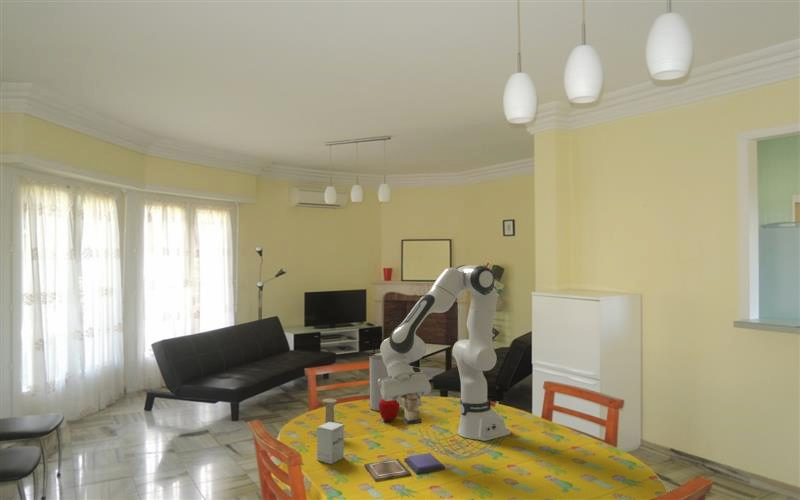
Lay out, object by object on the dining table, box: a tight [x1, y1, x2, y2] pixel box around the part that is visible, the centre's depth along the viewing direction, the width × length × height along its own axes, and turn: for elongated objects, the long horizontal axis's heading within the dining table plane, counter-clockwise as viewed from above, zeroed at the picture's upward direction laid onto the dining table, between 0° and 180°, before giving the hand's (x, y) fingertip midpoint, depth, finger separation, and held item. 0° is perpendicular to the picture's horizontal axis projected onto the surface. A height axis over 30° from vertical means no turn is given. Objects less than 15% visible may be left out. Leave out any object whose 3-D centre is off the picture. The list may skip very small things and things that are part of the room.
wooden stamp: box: [402, 394, 423, 426], centre depth 192 cm, size 6×6×10 cm
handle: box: [321, 398, 338, 424], centre depth 216 cm, size 5×6×15 cm
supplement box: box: [316, 422, 345, 465], centre depth 191 cm, size 7×7×13 cm
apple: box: [378, 398, 401, 422], centre depth 235 cm, size 10×10×11 cm
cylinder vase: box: [369, 354, 389, 412], centre depth 254 cm, size 12×12×25 cm
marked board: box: [364, 458, 412, 482], centre depth 181 cm, size 13×13×1 cm
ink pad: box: [403, 452, 446, 475], centre depth 185 cm, size 11×12×2 cm
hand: (412, 406), depth 192 cm, fingers closed on wooden stamp, 5 cm apart
